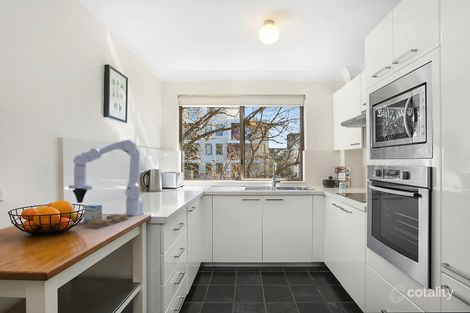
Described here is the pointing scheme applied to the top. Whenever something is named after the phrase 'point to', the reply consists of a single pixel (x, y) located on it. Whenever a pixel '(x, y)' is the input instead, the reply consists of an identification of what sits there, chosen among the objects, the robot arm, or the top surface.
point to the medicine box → (93, 212)
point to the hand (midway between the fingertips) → (80, 202)
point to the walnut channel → (106, 221)
